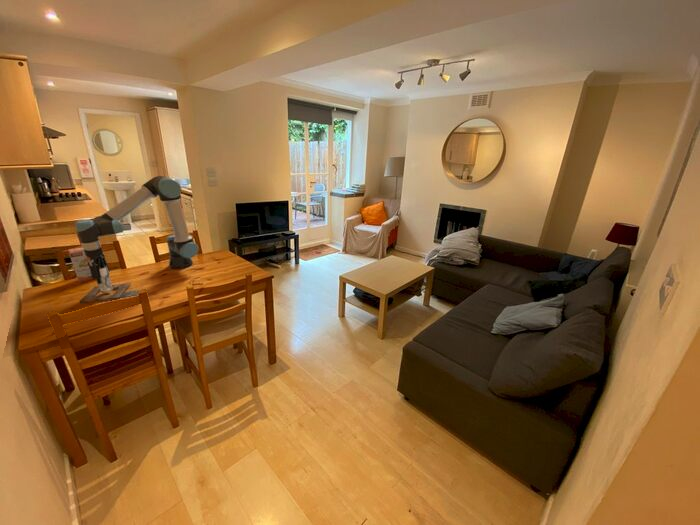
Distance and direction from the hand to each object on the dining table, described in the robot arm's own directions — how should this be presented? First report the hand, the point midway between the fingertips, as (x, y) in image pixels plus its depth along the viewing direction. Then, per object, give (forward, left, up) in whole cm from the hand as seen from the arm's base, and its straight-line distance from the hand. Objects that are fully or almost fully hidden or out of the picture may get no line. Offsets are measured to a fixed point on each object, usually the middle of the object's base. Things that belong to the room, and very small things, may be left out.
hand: (105, 285), depth 166 cm
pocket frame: (0, 0, -6) cm, 6 cm away
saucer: (-14, +6, -6) cm, 16 cm away
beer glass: (0, 0, -4) cm, 4 cm away
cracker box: (+17, -26, -6) cm, 32 cm away
